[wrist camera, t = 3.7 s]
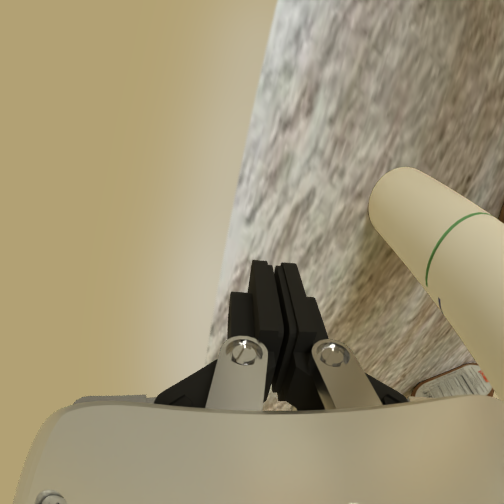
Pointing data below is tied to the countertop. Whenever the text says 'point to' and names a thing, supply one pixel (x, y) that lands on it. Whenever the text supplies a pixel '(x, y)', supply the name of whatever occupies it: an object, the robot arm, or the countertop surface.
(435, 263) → the cylindrical container
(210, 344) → the countertop surface
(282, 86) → the countertop surface
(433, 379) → the tin
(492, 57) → the countertop surface
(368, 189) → the countertop surface
